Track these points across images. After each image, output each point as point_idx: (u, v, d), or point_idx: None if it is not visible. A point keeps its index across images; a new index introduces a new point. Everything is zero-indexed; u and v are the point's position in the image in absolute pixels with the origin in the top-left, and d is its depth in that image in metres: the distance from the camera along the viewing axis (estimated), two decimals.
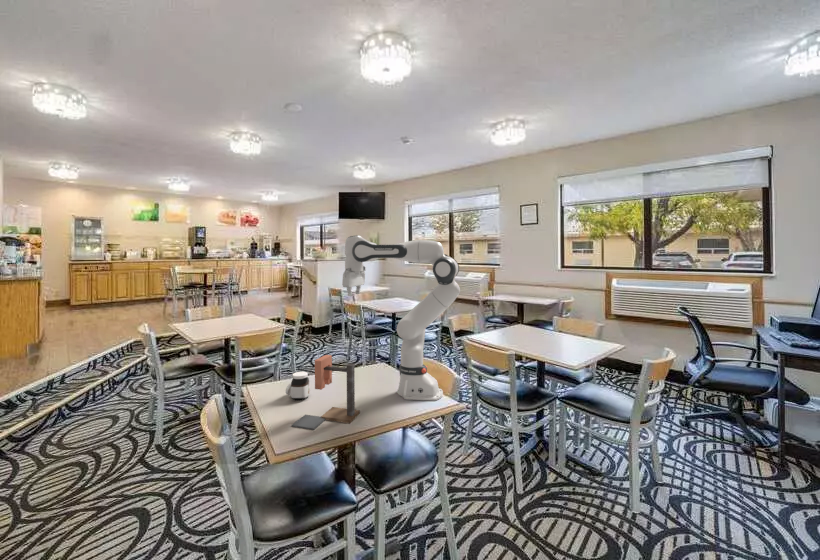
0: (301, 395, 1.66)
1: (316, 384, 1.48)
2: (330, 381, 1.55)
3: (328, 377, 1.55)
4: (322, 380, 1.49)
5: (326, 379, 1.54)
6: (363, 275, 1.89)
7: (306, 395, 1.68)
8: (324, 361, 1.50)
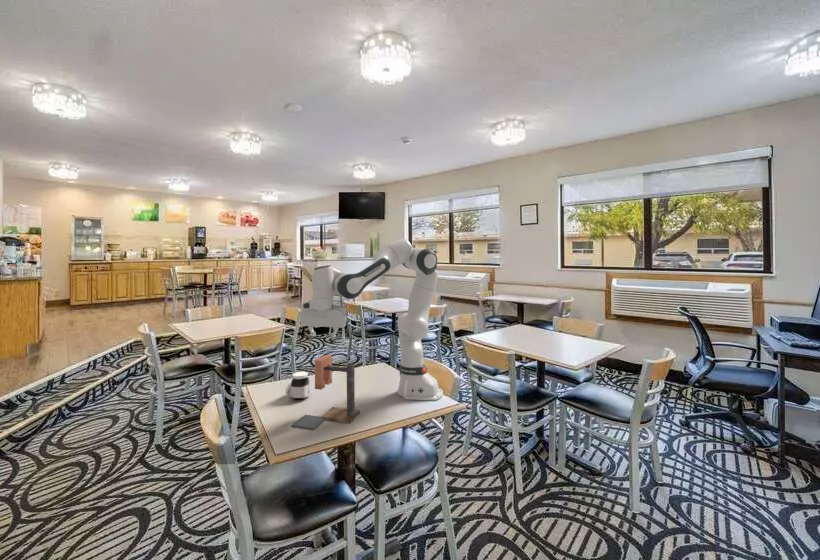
0: (301, 395, 1.66)
1: (316, 384, 1.48)
2: (330, 381, 1.55)
3: (328, 377, 1.55)
4: (322, 380, 1.49)
5: (326, 379, 1.54)
6: None
7: (306, 395, 1.68)
8: (324, 361, 1.50)
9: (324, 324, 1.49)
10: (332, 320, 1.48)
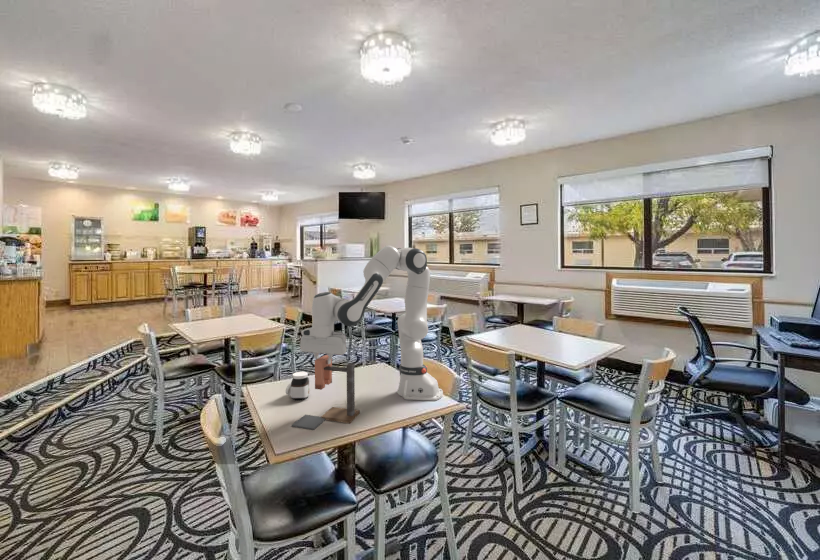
0: (301, 395, 1.66)
1: (316, 384, 1.48)
2: (330, 381, 1.55)
3: (328, 377, 1.55)
4: (322, 380, 1.49)
5: (326, 379, 1.54)
6: None
7: (306, 395, 1.68)
8: (324, 361, 1.50)
9: (325, 351, 1.49)
10: (332, 347, 1.48)
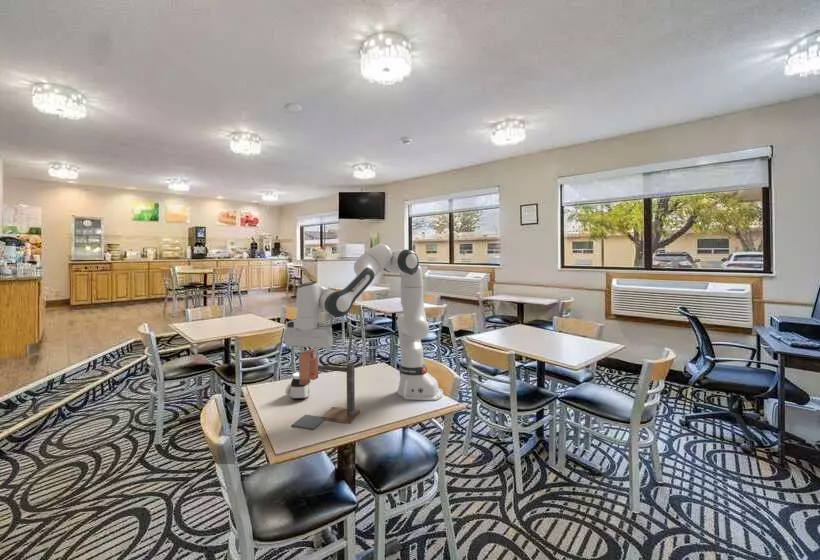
0: (301, 395, 1.66)
1: (300, 379, 1.40)
2: (316, 376, 1.47)
3: (314, 372, 1.46)
4: (307, 375, 1.40)
5: (312, 374, 1.46)
6: None
7: (306, 395, 1.68)
8: (309, 355, 1.41)
9: (310, 344, 1.41)
10: (318, 340, 1.40)
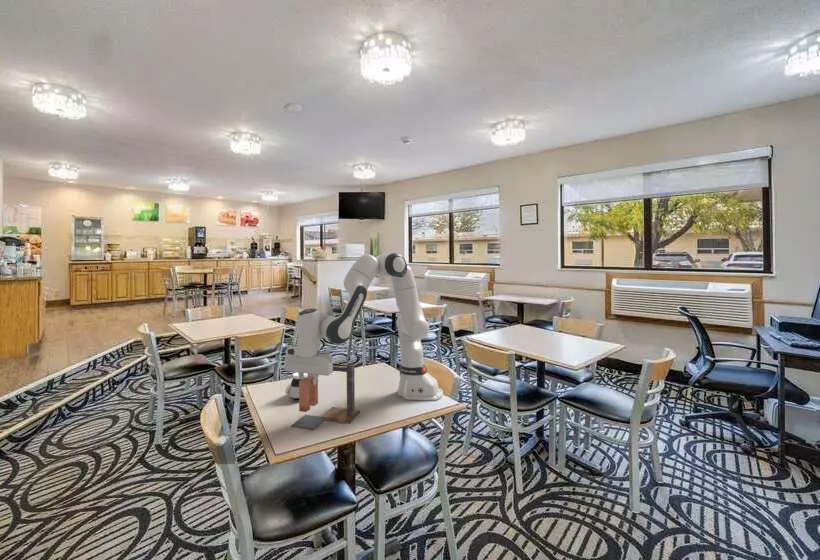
0: None
1: (300, 406, 1.40)
2: (316, 402, 1.47)
3: (314, 398, 1.47)
4: (307, 402, 1.41)
5: (312, 400, 1.46)
6: None
7: None
8: (309, 382, 1.42)
9: (310, 371, 1.42)
10: (318, 367, 1.41)
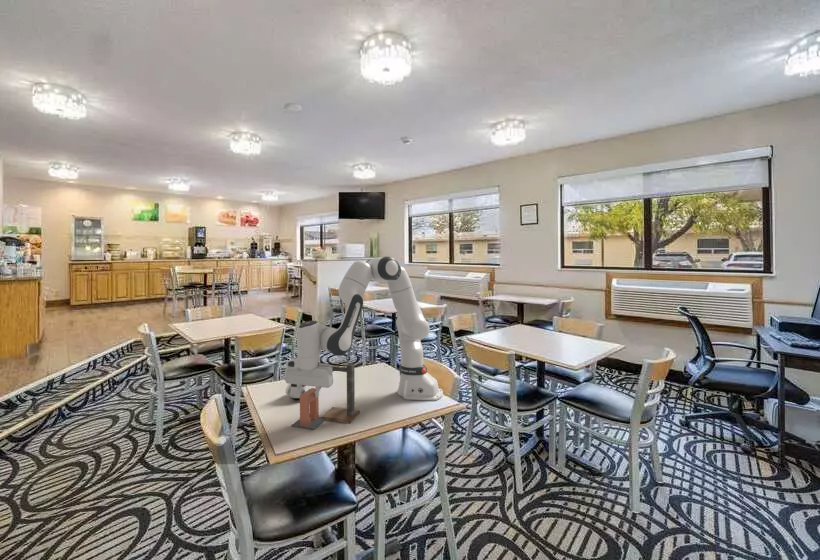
0: None
1: (301, 421, 1.41)
2: (317, 416, 1.48)
3: (314, 412, 1.47)
4: (307, 416, 1.41)
5: (312, 414, 1.47)
6: None
7: None
8: (310, 396, 1.42)
9: (310, 383, 1.42)
10: (318, 379, 1.41)
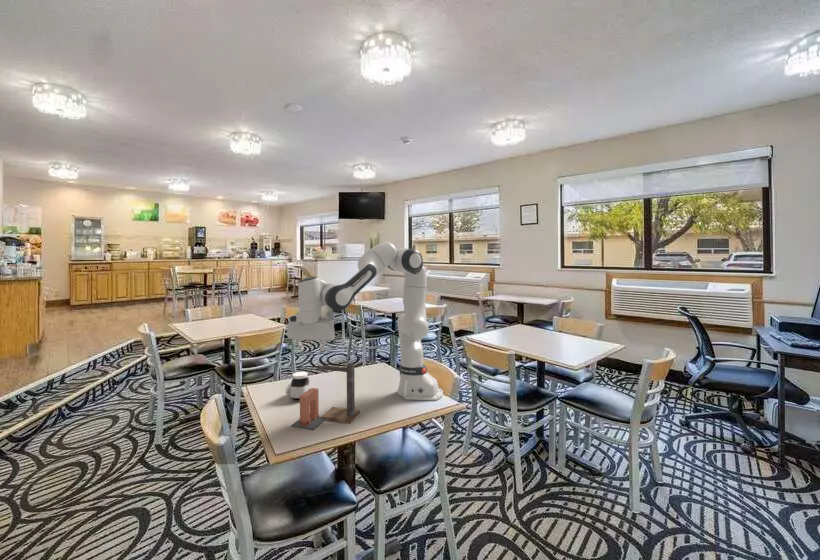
0: None
1: (301, 421, 1.41)
2: (317, 416, 1.48)
3: (314, 412, 1.47)
4: (307, 416, 1.41)
5: (312, 414, 1.47)
6: None
7: None
8: (310, 396, 1.42)
9: (312, 337, 1.45)
10: (320, 333, 1.43)
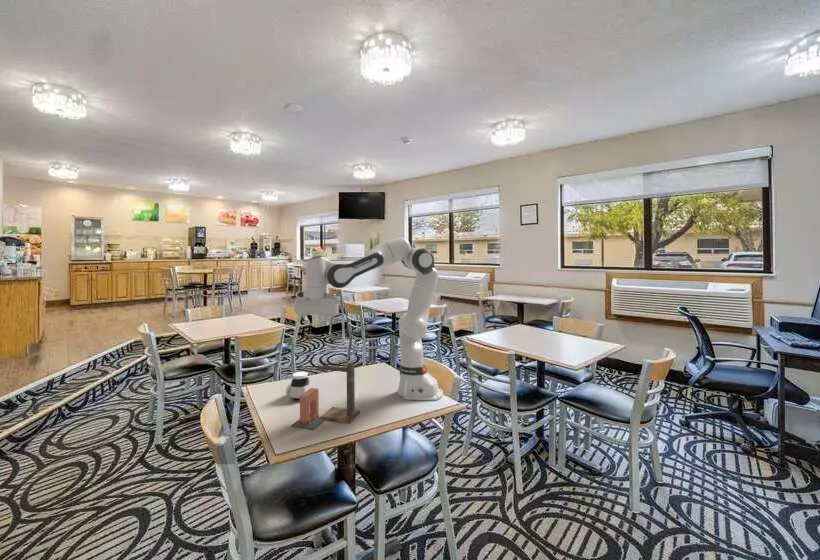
0: None
1: (301, 421, 1.41)
2: (317, 416, 1.48)
3: (314, 412, 1.47)
4: (307, 416, 1.41)
5: (312, 414, 1.47)
6: None
7: None
8: (310, 396, 1.42)
9: (318, 312, 1.56)
10: (325, 308, 1.55)
